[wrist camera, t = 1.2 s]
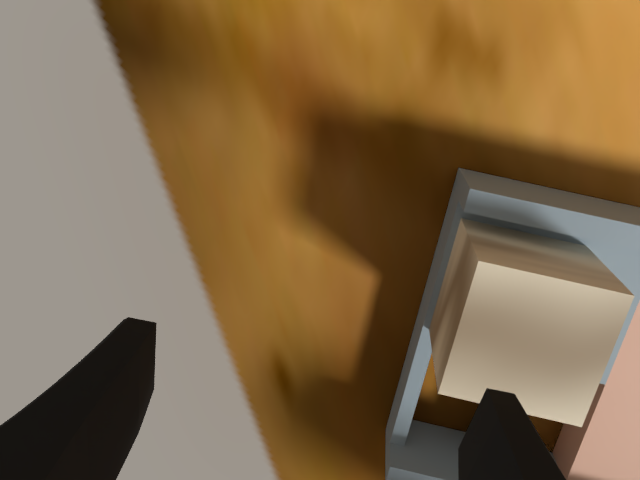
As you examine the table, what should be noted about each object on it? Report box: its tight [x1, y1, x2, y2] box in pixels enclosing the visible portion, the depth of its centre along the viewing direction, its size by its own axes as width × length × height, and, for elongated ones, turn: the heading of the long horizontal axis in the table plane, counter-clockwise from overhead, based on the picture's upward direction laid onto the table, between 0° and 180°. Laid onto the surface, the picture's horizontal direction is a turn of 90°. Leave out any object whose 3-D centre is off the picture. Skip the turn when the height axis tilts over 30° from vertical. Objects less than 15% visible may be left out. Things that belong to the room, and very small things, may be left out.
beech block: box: [429, 218, 634, 427], centre depth 20 cm, size 4×4×4 cm
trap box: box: [385, 168, 640, 480], centre depth 23 cm, size 12×13×4 cm
